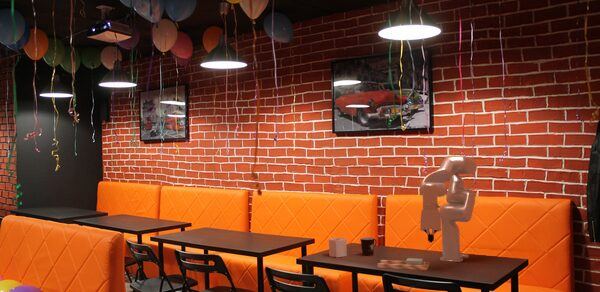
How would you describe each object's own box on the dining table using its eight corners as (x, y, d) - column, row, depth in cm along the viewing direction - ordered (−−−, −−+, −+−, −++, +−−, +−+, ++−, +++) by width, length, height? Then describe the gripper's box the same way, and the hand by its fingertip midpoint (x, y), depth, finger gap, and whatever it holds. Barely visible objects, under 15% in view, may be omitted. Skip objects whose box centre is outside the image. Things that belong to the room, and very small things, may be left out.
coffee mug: (364, 256, 316) (363, 240, 316) (358, 254, 324) (358, 237, 324) (382, 255, 319) (381, 238, 319) (376, 252, 327) (375, 236, 327)
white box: (341, 253, 329) (341, 237, 329) (351, 256, 318) (350, 239, 318) (326, 255, 324) (325, 238, 324) (335, 258, 313) (335, 241, 314)
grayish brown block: (423, 266, 283) (422, 258, 283) (421, 268, 277) (421, 261, 277) (408, 265, 285) (407, 258, 285) (406, 268, 279) (405, 260, 279)
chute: (429, 267, 283) (429, 262, 283) (427, 271, 274) (426, 266, 274) (381, 264, 292) (381, 259, 292) (377, 269, 283) (377, 263, 283)
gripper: (445, 206, 279) (446, 241, 279) (416, 206, 284) (417, 240, 284) (444, 208, 272) (445, 243, 271) (414, 207, 277) (415, 242, 277)
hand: (430, 242), depth 278 cm, fingers closed
